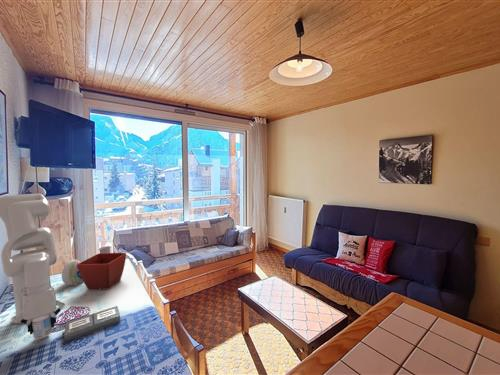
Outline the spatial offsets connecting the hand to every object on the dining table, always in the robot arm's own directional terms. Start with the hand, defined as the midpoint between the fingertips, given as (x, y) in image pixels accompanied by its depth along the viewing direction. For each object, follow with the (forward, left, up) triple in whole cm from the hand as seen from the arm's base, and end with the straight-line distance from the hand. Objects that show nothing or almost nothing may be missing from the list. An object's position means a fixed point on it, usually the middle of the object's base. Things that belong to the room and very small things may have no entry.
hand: (42, 328), depth 97 cm
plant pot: (-25, +39, -4) cm, 46 cm away
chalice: (-41, +49, -4) cm, 64 cm away
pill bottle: (0, 0, -3) cm, 3 cm away
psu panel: (+11, +14, -4) cm, 18 cm away
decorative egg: (-46, +32, -4) cm, 56 cm away
